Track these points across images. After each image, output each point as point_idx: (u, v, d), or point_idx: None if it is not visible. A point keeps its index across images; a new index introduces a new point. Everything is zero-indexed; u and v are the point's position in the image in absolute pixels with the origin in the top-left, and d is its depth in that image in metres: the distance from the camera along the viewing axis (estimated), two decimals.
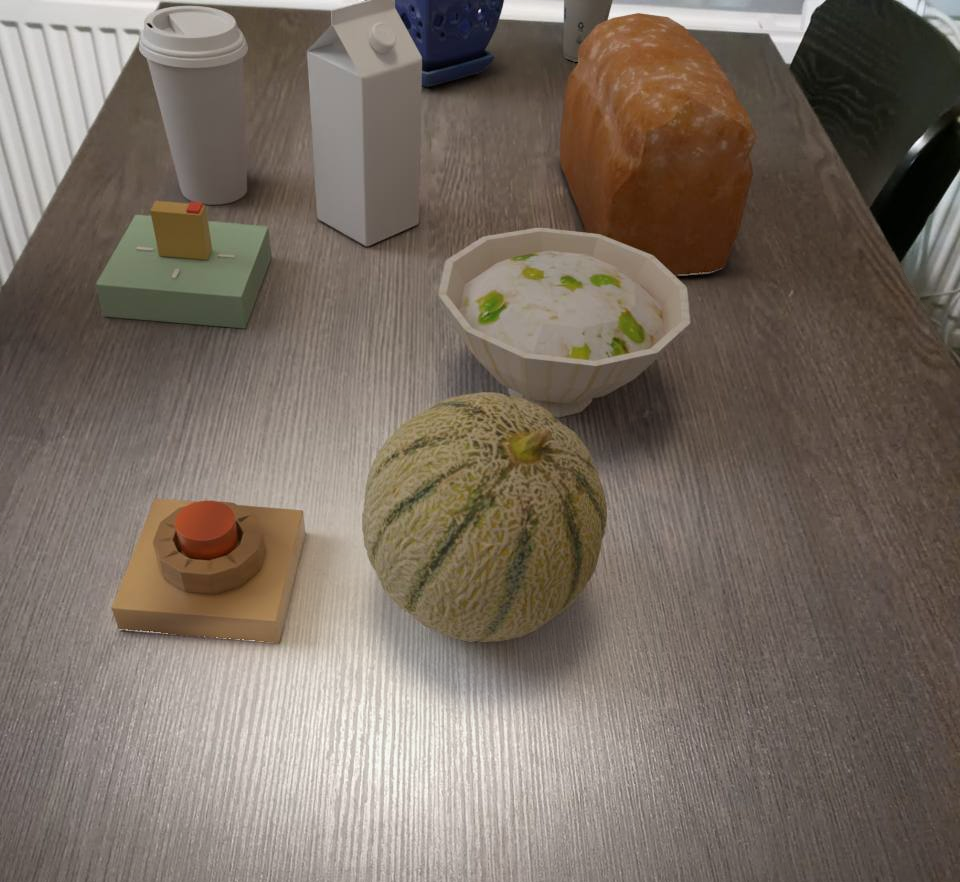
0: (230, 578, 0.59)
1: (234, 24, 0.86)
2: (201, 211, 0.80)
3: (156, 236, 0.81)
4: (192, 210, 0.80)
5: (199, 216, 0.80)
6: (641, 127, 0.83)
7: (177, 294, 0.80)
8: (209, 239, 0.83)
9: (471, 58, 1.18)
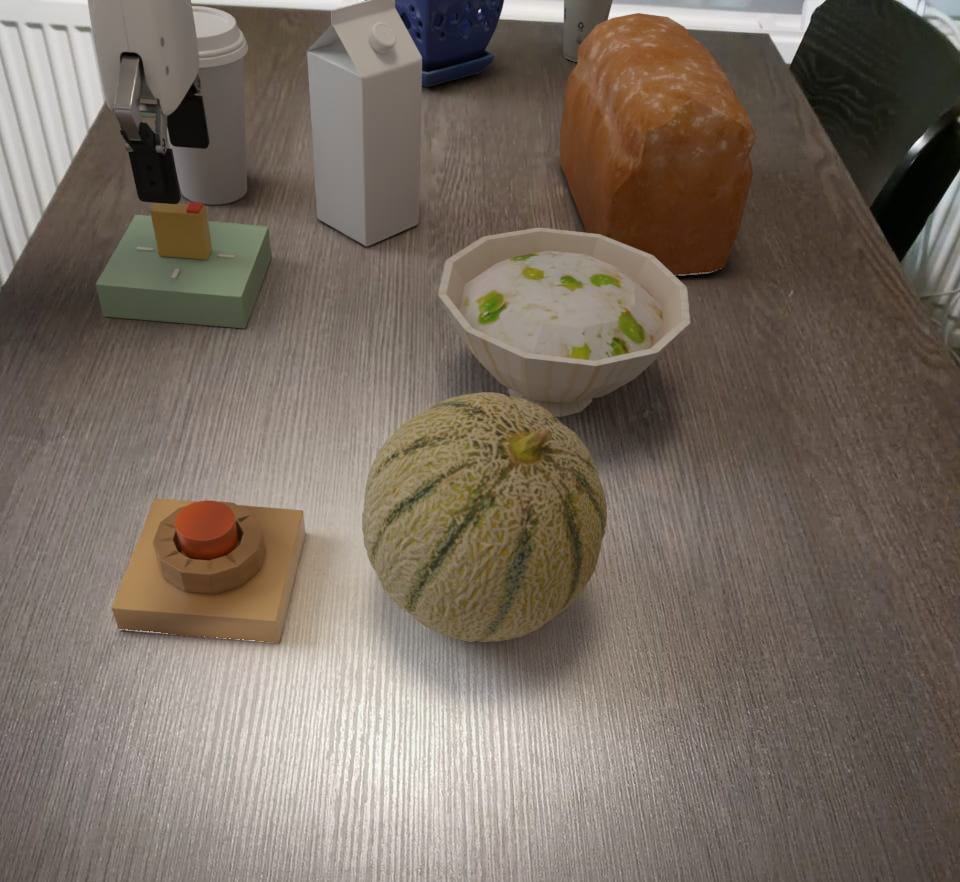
0: (230, 578, 0.59)
1: (234, 24, 0.86)
2: (201, 211, 0.80)
3: (156, 236, 0.81)
4: (192, 210, 0.80)
5: (199, 216, 0.80)
6: (641, 127, 0.83)
7: (177, 294, 0.80)
8: (209, 239, 0.83)
9: (471, 58, 1.18)
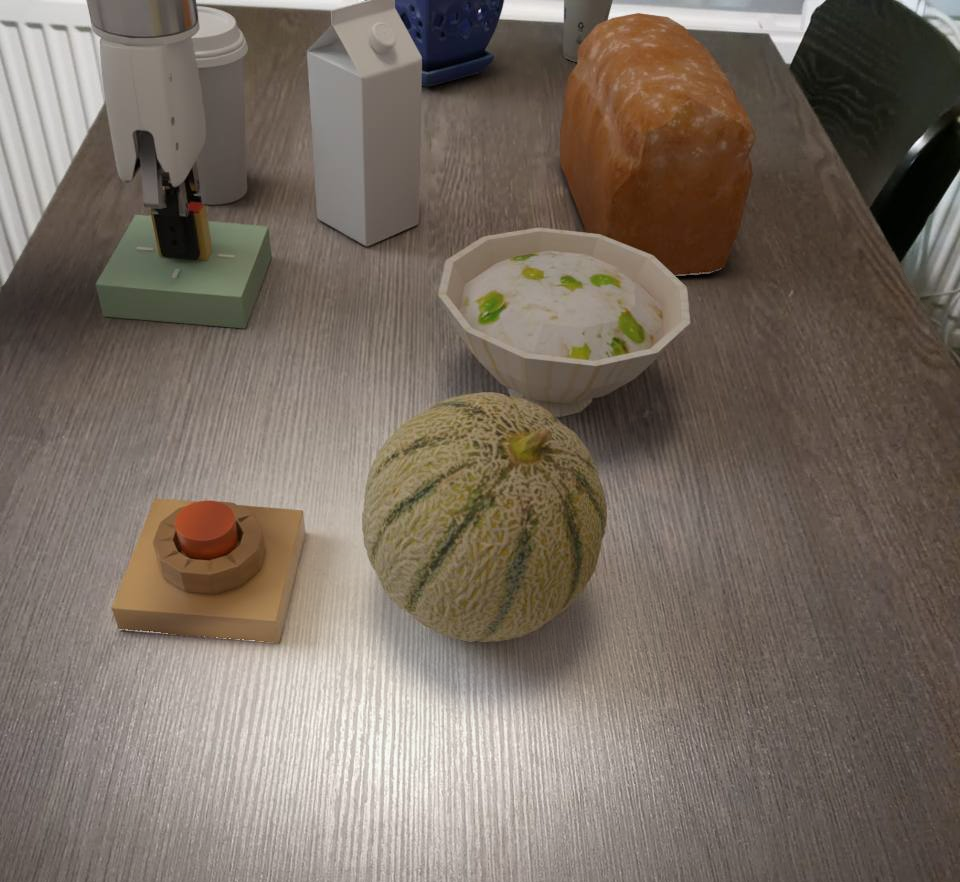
0: (230, 578, 0.59)
1: (234, 24, 0.86)
2: (201, 211, 0.80)
3: (156, 236, 0.81)
4: (192, 210, 0.80)
5: (199, 216, 0.80)
6: (641, 127, 0.83)
7: (177, 294, 0.80)
8: (209, 239, 0.83)
9: (471, 58, 1.18)
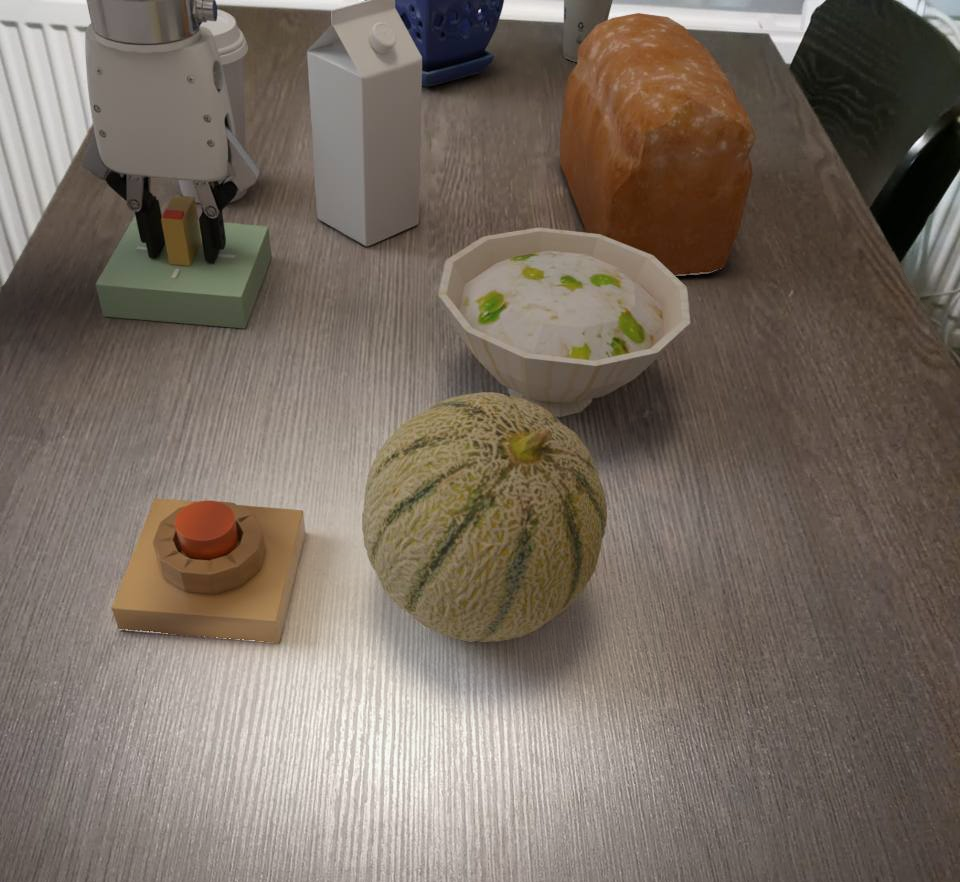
0: (230, 578, 0.59)
1: (234, 24, 0.86)
2: (167, 219, 0.79)
3: None
4: (165, 212, 0.79)
5: (161, 219, 0.79)
6: (641, 127, 0.83)
7: (177, 294, 0.80)
8: (182, 252, 0.81)
9: (471, 58, 1.18)
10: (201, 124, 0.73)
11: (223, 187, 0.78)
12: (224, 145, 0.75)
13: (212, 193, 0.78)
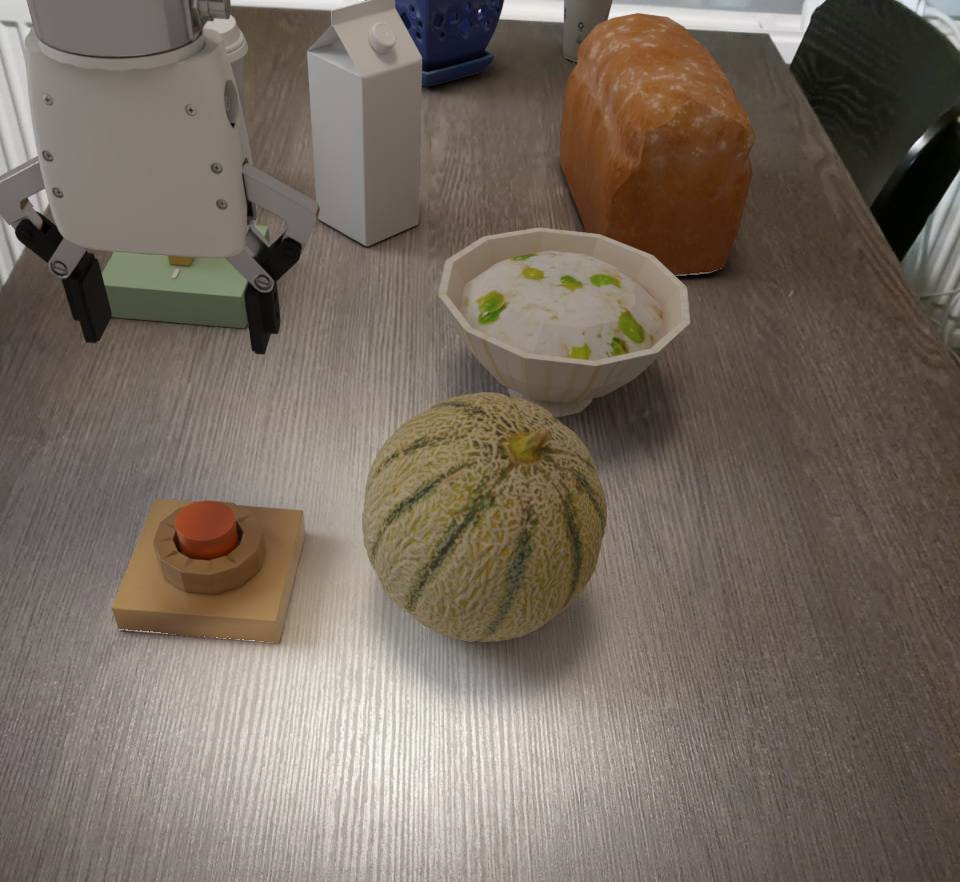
0: (230, 578, 0.59)
1: (234, 24, 0.86)
2: None
3: None
4: None
5: None
6: (641, 127, 0.83)
7: (177, 294, 0.80)
8: None
9: (471, 58, 1.18)
10: (207, 177, 0.48)
11: (281, 247, 0.52)
12: (242, 206, 0.50)
13: (252, 256, 0.52)
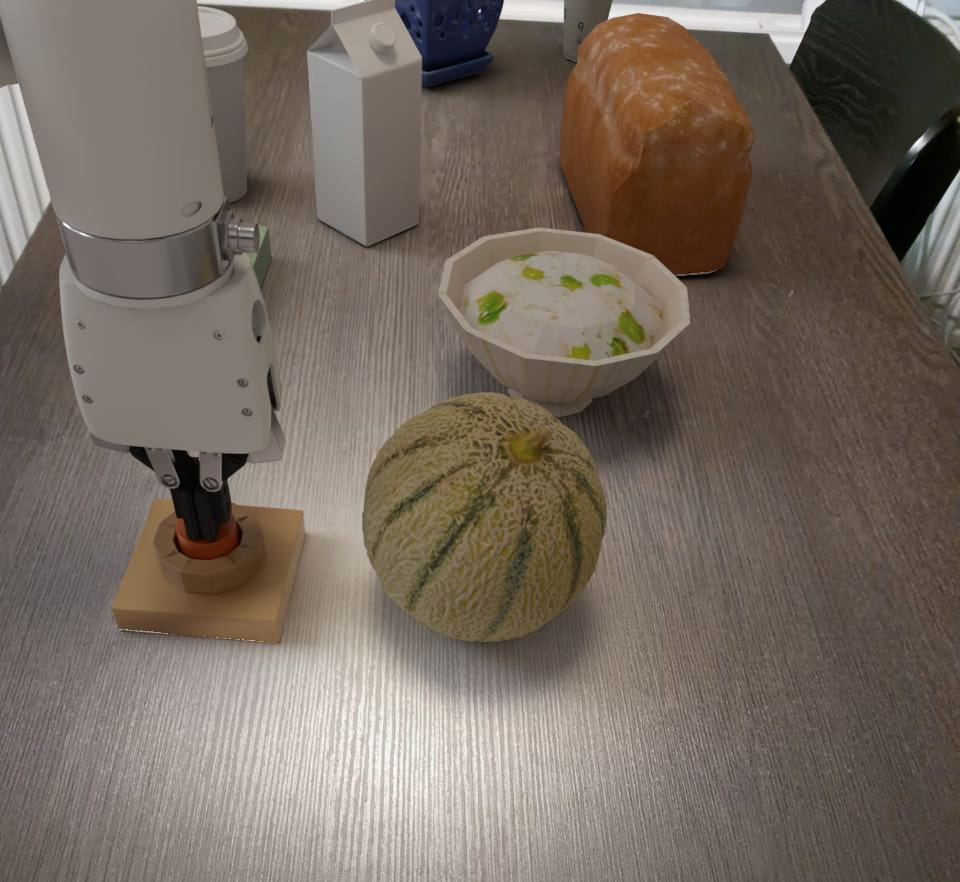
0: (230, 578, 0.59)
1: (234, 24, 0.86)
2: None
3: None
4: None
5: None
6: (640, 127, 0.83)
7: None
8: None
9: (471, 58, 1.18)
10: (233, 390, 0.49)
11: (228, 454, 0.54)
12: (266, 411, 0.51)
13: (221, 466, 0.54)
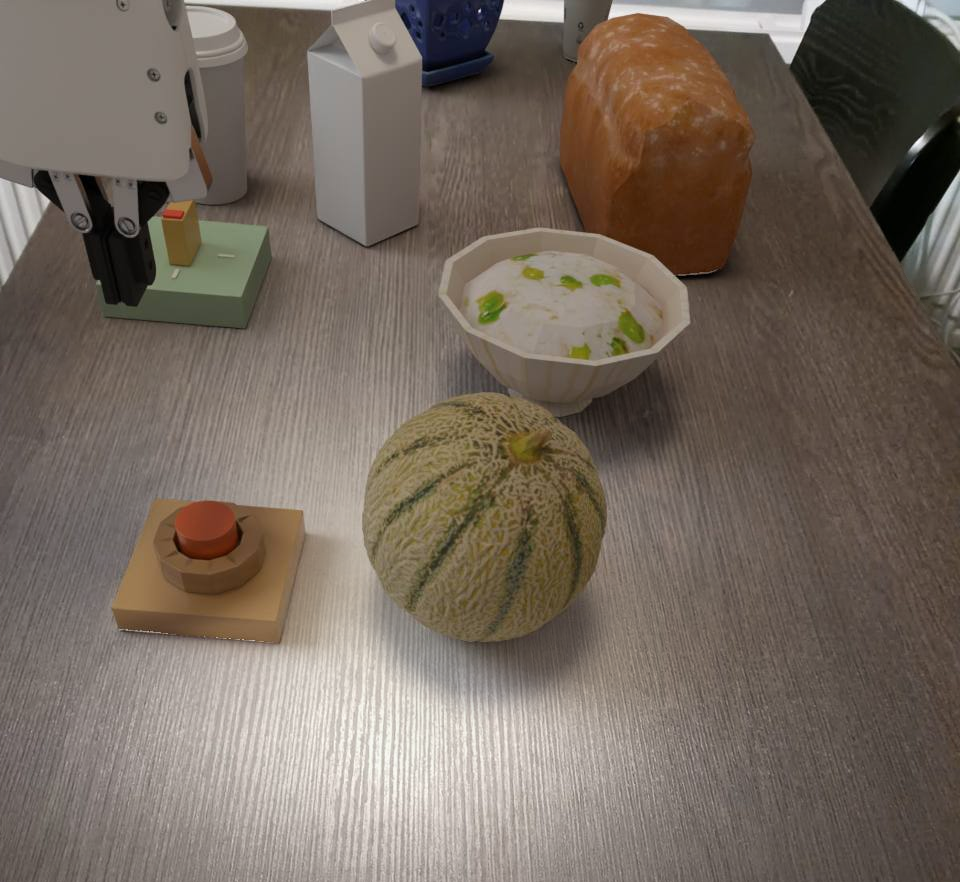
0: (230, 578, 0.59)
1: (234, 24, 0.86)
2: (167, 219, 0.79)
3: None
4: (165, 212, 0.79)
5: (161, 219, 0.79)
6: (640, 127, 0.83)
7: (177, 294, 0.80)
8: (182, 252, 0.81)
9: (471, 58, 1.18)
10: (143, 85, 0.43)
11: (145, 188, 0.48)
12: (184, 122, 0.45)
13: (138, 202, 0.48)
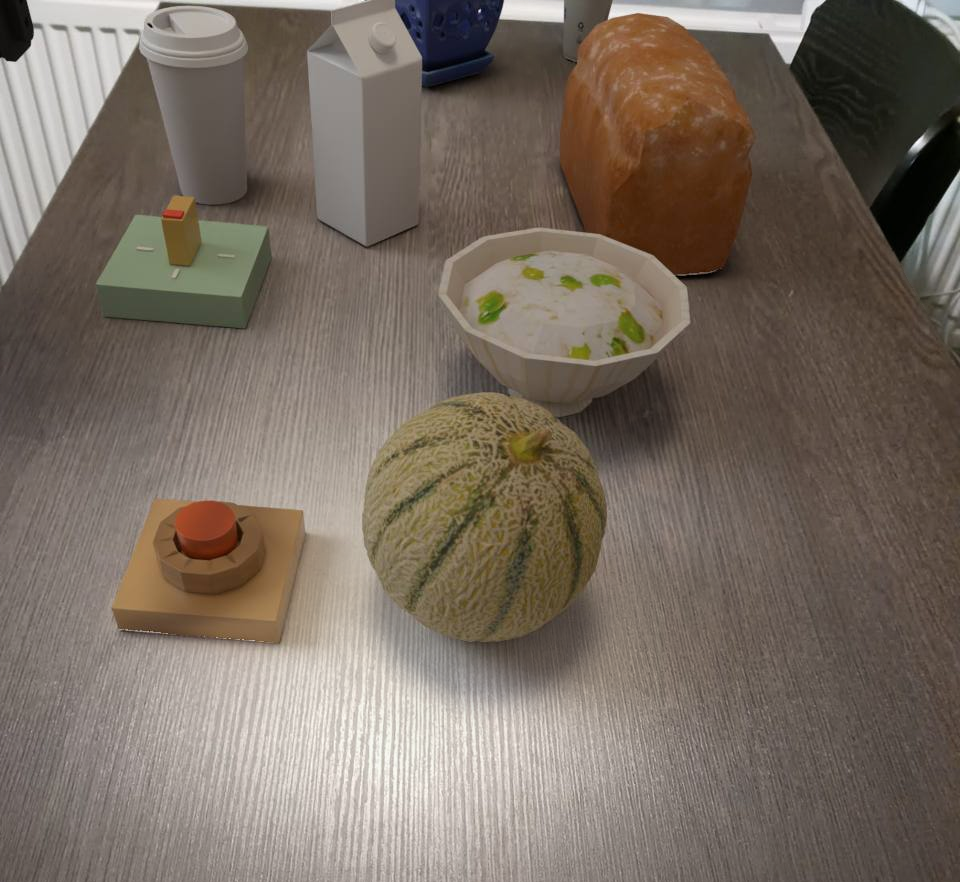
0: (230, 578, 0.59)
1: (234, 24, 0.86)
2: (167, 219, 0.79)
3: None
4: (165, 212, 0.79)
5: (161, 219, 0.79)
6: (640, 127, 0.83)
7: (177, 294, 0.80)
8: (182, 252, 0.81)
9: (471, 58, 1.18)
10: None
11: None
12: None
13: None
